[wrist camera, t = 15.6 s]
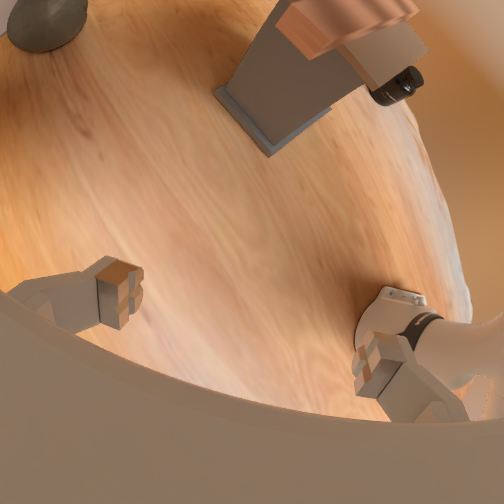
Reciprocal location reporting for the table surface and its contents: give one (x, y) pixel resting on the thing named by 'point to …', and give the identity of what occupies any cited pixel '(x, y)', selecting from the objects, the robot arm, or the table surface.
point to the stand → (308, 78)
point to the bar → (339, 21)
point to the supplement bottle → (398, 87)
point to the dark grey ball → (45, 23)
